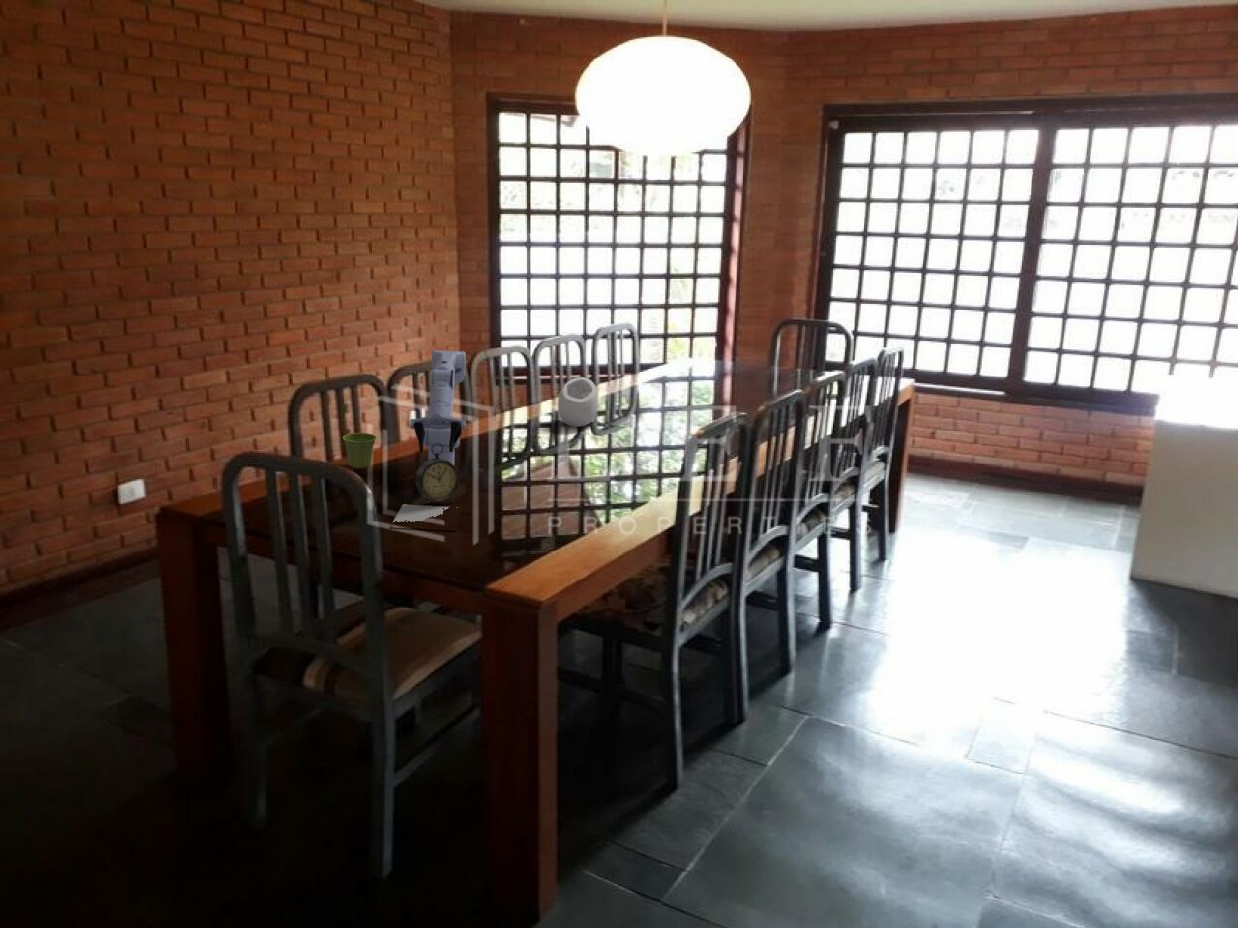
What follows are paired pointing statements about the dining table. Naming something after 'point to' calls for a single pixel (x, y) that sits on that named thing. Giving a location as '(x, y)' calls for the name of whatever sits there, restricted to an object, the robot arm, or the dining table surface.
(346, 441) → the plant pot
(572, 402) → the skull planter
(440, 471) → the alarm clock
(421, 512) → the mat
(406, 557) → the dining table surface
